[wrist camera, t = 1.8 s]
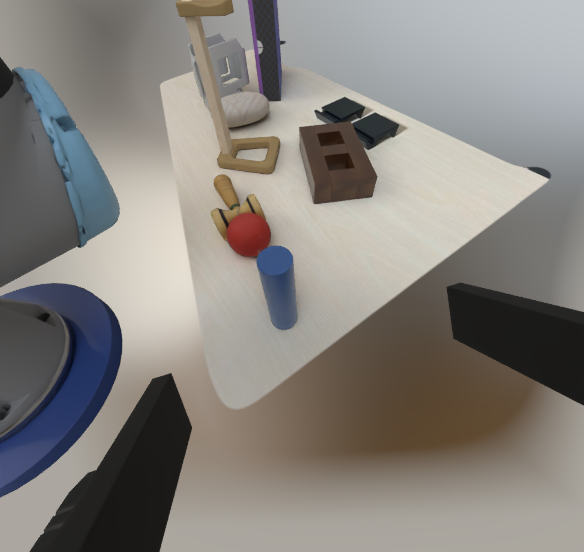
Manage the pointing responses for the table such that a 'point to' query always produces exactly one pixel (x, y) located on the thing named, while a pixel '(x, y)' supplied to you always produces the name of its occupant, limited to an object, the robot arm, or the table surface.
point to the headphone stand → (218, 3)
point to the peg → (278, 285)
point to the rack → (336, 163)
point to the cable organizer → (223, 65)
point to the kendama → (241, 220)
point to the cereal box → (266, 46)
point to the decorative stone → (244, 108)
